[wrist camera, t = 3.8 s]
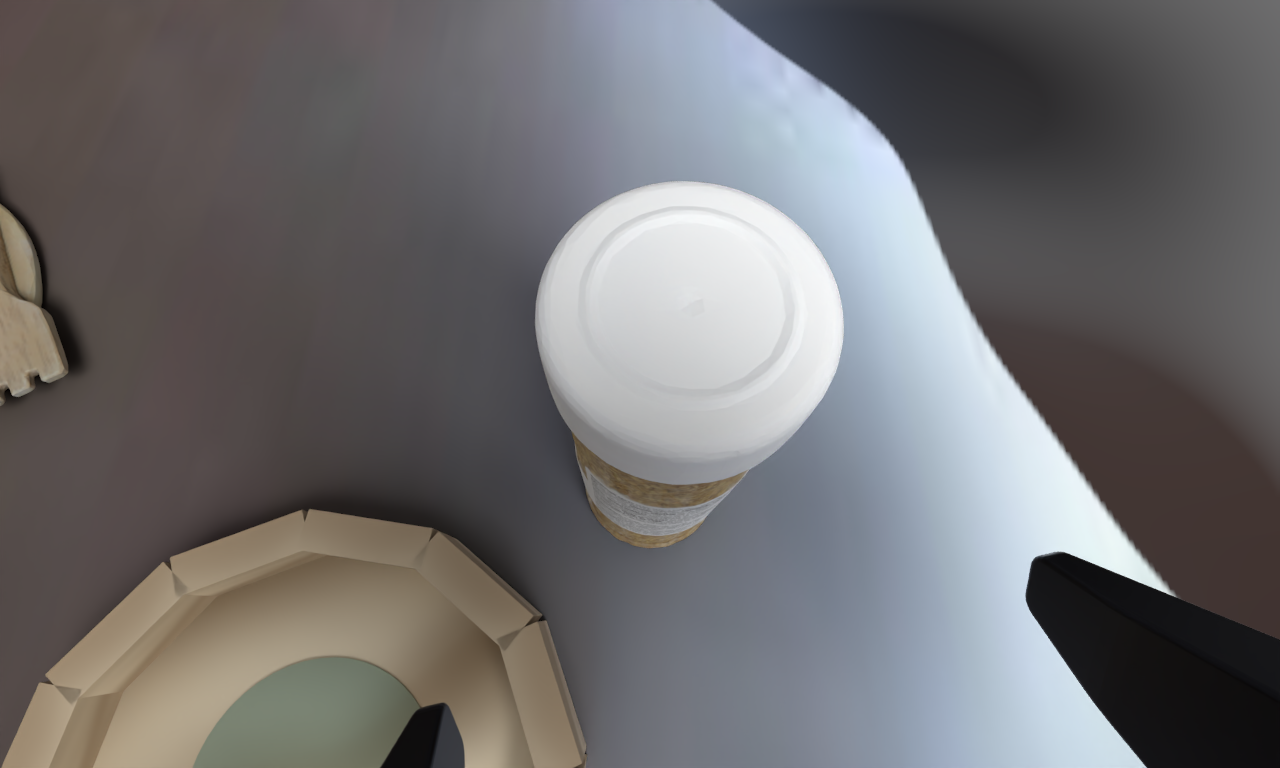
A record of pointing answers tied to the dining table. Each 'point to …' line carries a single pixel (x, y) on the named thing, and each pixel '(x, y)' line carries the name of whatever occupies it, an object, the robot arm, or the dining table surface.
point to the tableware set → (24, 315)
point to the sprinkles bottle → (683, 348)
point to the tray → (307, 658)
